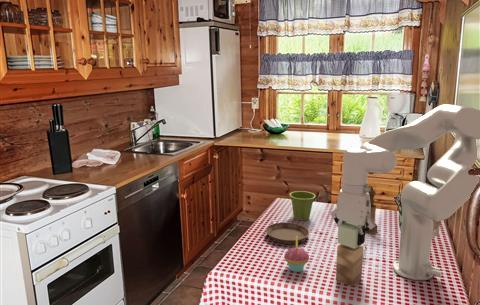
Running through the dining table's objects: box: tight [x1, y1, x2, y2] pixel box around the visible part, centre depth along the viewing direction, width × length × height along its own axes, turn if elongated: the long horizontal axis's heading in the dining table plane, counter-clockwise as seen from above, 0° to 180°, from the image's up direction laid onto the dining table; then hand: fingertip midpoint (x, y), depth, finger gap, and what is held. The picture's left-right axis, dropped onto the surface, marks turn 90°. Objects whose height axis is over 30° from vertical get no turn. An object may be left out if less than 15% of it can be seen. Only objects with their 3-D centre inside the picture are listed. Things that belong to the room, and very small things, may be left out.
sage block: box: [337, 222, 359, 249], centre depth 125 cm, size 6×6×6 cm
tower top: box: [336, 243, 365, 269], centre depth 127 cm, size 6×6×6 cm
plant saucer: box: [265, 222, 310, 245], centre depth 161 cm, size 18×18×3 cm
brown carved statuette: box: [365, 189, 379, 234], centre depth 165 cm, size 7×6×18 cm
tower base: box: [335, 262, 363, 287], centre depth 128 cm, size 6×6×6 cm
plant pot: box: [289, 190, 316, 221], centre depth 180 cm, size 12×12×11 cm
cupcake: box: [283, 236, 310, 273], centre depth 134 cm, size 9×8×12 cm
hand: (351, 240), depth 126 cm, fingers closed on sage block, 6 cm apart
